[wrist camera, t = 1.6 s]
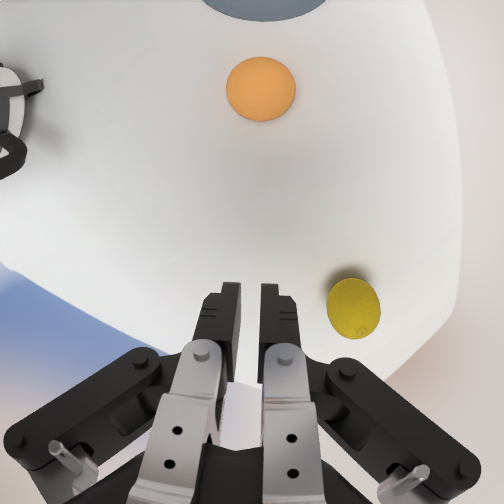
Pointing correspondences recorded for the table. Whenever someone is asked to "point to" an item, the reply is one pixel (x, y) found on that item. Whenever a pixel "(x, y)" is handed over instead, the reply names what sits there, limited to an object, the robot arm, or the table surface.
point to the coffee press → (13, 119)
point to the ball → (260, 88)
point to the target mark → (264, 8)
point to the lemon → (353, 308)
